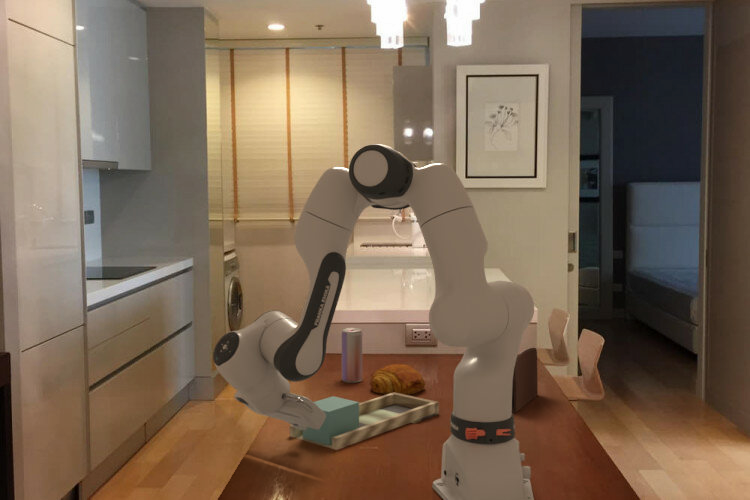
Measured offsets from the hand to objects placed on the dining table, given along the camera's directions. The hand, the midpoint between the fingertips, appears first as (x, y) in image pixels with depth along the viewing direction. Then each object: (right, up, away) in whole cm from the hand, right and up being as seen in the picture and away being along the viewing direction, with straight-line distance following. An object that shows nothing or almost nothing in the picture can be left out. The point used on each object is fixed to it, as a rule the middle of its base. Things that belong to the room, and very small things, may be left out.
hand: (302, 426), depth 178 cm
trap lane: (+14, -3, +17) cm, 22 cm away
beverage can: (+9, 0, +60) cm, 61 cm away
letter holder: (+51, -2, +38) cm, 64 cm away
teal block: (+6, -4, +7) cm, 10 cm away
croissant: (+22, -1, +50) cm, 55 cm away
